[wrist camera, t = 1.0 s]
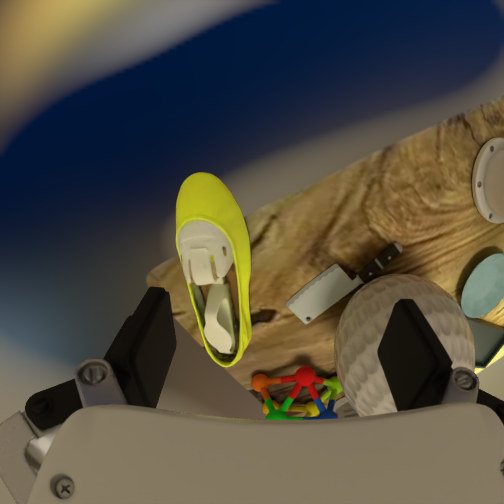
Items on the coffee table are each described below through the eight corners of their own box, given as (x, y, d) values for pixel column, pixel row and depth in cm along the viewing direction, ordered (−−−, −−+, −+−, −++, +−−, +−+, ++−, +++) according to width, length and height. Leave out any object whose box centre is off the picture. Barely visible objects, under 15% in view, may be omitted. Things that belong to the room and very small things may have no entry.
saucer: (443, 295, 36) (449, 303, 34) (486, 234, 32) (495, 240, 30) (474, 318, 38) (480, 326, 36) (512, 267, 34) (519, 273, 32)
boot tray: (413, 352, 42) (416, 359, 40) (446, 307, 37) (450, 313, 36) (481, 363, 44) (484, 368, 42) (508, 328, 39) (511, 333, 38)
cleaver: (283, 300, 39) (307, 322, 39) (283, 305, 37) (307, 328, 38) (380, 219, 33) (402, 248, 33) (383, 222, 31) (405, 252, 32)
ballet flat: (242, 165, 31) (225, 177, 23) (265, 340, 40) (257, 382, 33) (175, 174, 32) (142, 189, 25) (211, 339, 42) (195, 378, 34)
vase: (355, 230, 33) (443, 372, 13) (445, 266, 34) (533, 376, 14) (304, 330, 40) (319, 477, 20) (392, 349, 41) (434, 466, 21)
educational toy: (262, 465, 36) (262, 412, 31) (250, 411, 48) (248, 352, 44) (352, 446, 38) (373, 388, 33) (328, 398, 50) (339, 339, 46)
